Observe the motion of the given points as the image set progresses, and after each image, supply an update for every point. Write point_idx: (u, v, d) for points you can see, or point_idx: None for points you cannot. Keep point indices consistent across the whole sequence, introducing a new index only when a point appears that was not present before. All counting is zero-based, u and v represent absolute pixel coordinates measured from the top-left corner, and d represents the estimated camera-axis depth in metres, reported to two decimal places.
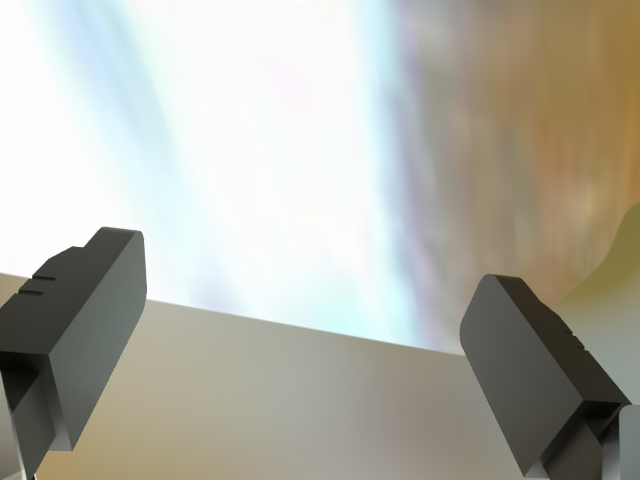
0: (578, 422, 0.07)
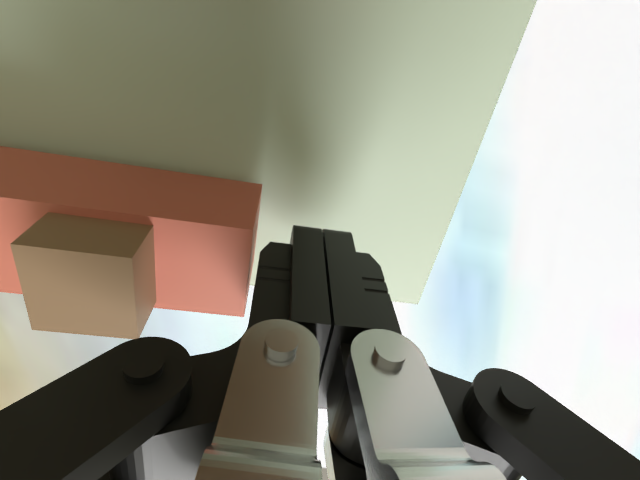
0: (341, 350, 0.07)
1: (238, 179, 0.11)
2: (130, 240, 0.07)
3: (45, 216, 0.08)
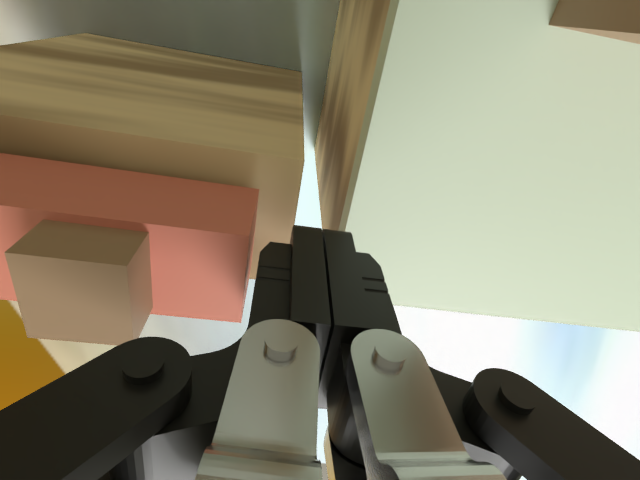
0: (341, 350, 0.07)
1: (572, 231, 0.12)
2: (125, 247, 0.07)
3: (40, 223, 0.08)
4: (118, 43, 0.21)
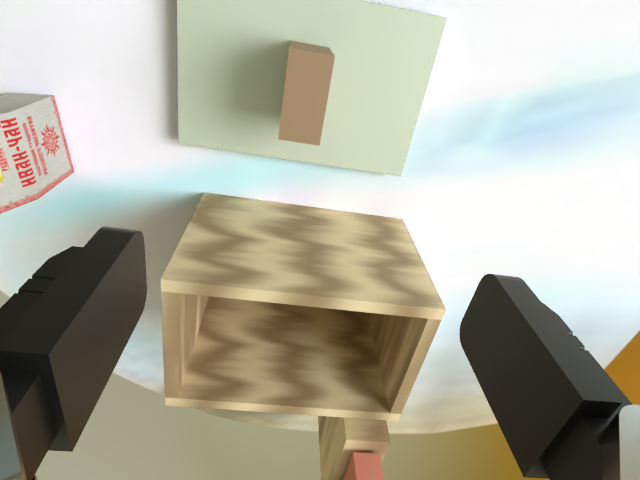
0: (578, 423, 0.07)
1: (382, 94, 0.33)
2: None
3: None
4: None
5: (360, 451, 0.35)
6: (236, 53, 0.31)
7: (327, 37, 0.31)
